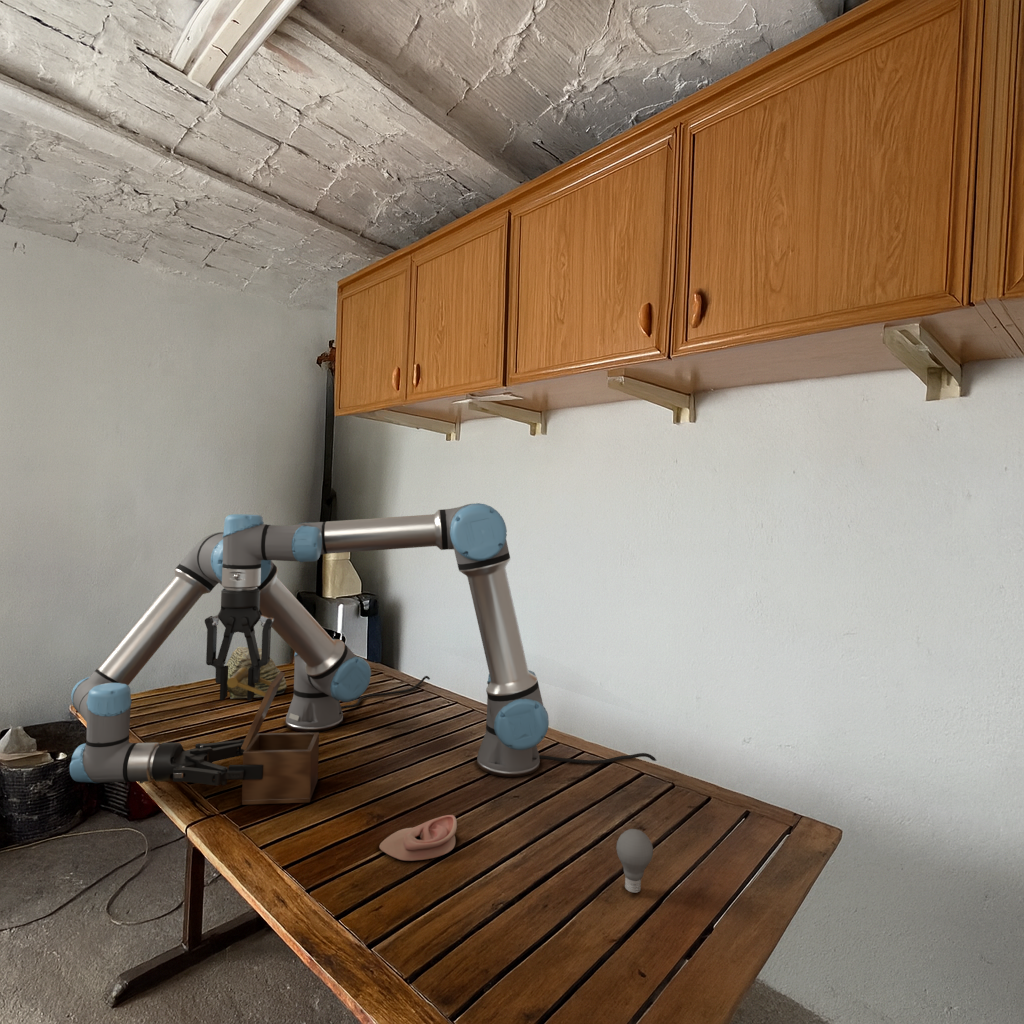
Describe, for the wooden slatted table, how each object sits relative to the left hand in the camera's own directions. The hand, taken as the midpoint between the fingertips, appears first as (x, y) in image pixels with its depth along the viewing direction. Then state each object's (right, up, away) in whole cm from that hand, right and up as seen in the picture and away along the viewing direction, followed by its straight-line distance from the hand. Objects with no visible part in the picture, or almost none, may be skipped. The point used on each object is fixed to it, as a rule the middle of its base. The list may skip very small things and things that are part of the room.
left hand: (269, 760), depth 134 cm
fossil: (-29, -4, +64) cm, 70 cm away
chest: (+2, -7, +1) cm, 7 cm away
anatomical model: (+34, -9, -18) cm, 40 cm away
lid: (0, +11, 0) cm, 11 cm away
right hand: (-6, +14, -1) cm, 15 cm away
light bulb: (+72, -11, -29) cm, 78 cm away
